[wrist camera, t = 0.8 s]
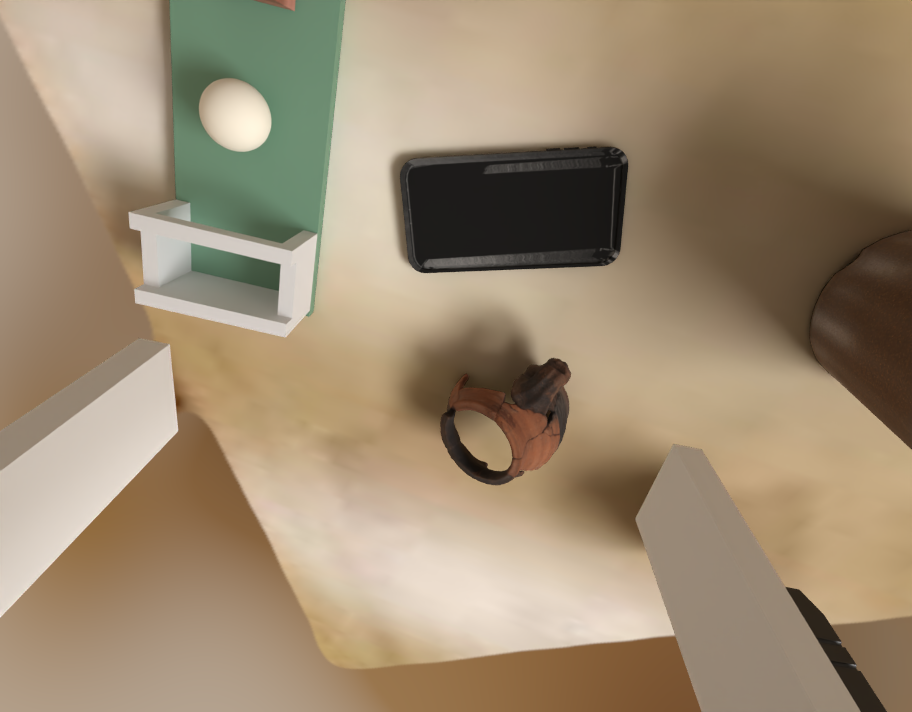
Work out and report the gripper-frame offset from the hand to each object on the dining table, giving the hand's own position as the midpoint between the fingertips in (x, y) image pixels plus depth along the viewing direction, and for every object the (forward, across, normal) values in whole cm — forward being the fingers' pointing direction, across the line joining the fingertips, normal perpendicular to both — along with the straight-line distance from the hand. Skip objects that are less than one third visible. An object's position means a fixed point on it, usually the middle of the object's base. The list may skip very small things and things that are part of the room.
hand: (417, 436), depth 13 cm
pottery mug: (+25, +7, -13) cm, 29 cm away
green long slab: (+25, -15, +7) cm, 30 cm away
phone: (+25, +3, +2) cm, 25 cm away
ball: (+22, -15, +4) cm, 26 cm away
